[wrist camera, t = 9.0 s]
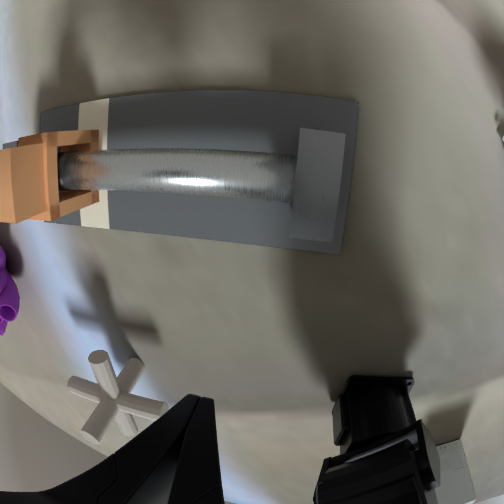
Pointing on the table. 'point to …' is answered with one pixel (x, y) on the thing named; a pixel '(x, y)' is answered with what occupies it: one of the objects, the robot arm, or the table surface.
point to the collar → (42, 177)
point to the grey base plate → (208, 137)
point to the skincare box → (454, 475)
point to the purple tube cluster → (7, 295)
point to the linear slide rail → (223, 176)
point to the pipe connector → (114, 397)
